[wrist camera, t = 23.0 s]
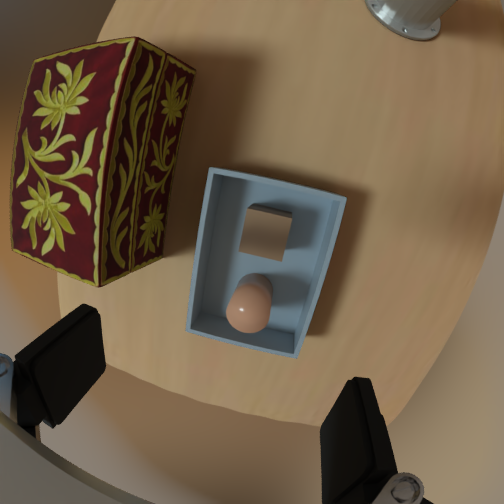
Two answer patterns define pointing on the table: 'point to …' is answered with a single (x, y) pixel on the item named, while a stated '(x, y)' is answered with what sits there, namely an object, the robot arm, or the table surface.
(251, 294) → the canister
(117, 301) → the table surface
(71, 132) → the decorative box
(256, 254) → the walnut block
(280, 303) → the tote
